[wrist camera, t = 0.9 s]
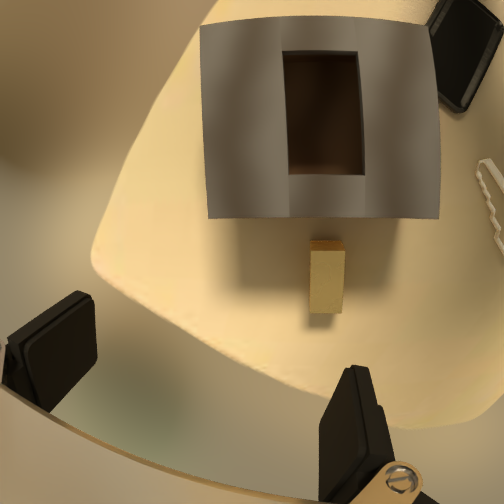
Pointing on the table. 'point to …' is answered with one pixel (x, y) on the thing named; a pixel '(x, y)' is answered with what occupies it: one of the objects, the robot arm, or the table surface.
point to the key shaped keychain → (502, 183)
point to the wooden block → (326, 276)
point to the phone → (462, 49)
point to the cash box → (320, 118)
